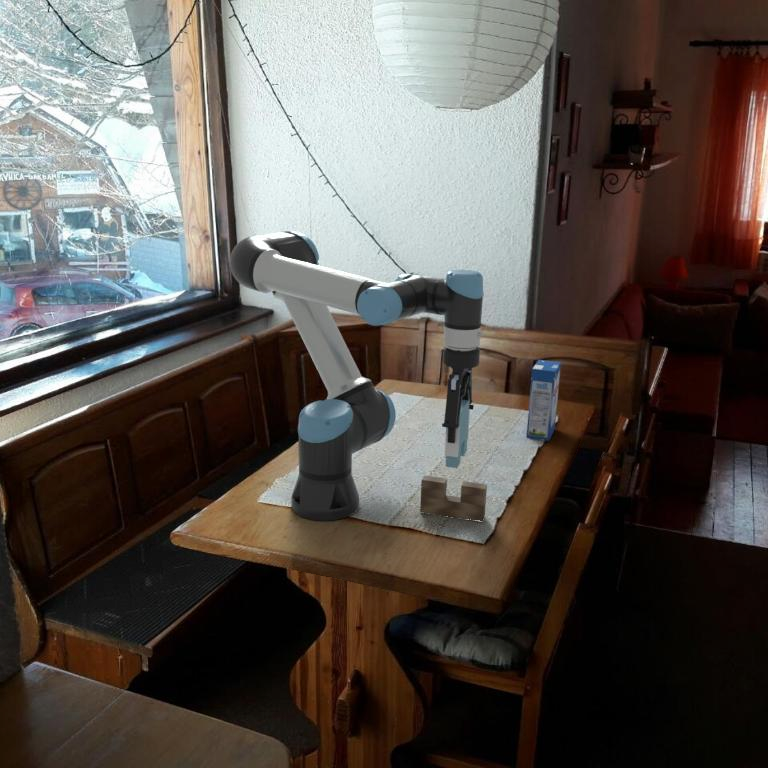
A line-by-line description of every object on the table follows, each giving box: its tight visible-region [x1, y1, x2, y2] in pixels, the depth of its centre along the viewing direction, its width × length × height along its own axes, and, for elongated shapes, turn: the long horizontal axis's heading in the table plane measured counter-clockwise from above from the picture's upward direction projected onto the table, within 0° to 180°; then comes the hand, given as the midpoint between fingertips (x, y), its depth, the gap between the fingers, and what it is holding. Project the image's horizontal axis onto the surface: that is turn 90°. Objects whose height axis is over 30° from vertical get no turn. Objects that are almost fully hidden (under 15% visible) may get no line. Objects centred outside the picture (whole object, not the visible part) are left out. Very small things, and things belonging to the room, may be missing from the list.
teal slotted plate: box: [445, 399, 470, 469], centre depth 171 cm, size 10×2×12 cm, turn 163°
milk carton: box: [526, 359, 562, 442], centre depth 223 cm, size 10×6×20 cm, turn 159°
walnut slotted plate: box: [419, 475, 488, 522], centre depth 176 cm, size 14×2×8 cm, turn 73°
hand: (456, 446), depth 172 cm, fingers closed on teal slotted plate, 10 cm apart
